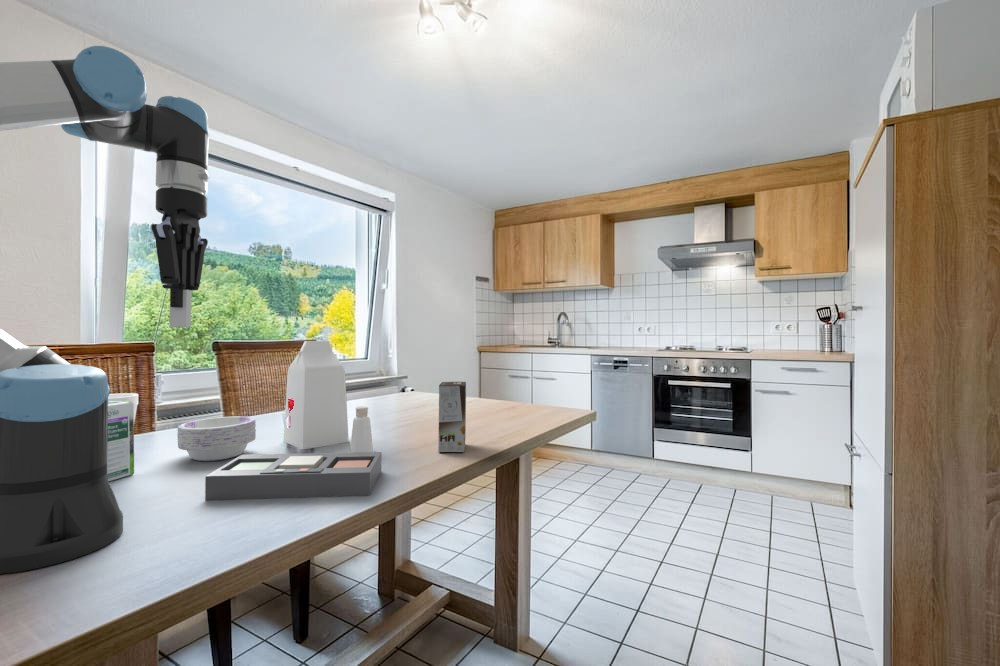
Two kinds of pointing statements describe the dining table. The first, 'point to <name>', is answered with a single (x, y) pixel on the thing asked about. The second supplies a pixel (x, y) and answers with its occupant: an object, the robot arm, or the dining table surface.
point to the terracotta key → (353, 464)
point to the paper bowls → (216, 437)
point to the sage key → (252, 466)
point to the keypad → (293, 478)
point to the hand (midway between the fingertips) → (180, 326)
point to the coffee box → (452, 416)
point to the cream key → (301, 462)
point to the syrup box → (120, 439)
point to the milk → (316, 398)
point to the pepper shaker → (361, 432)
